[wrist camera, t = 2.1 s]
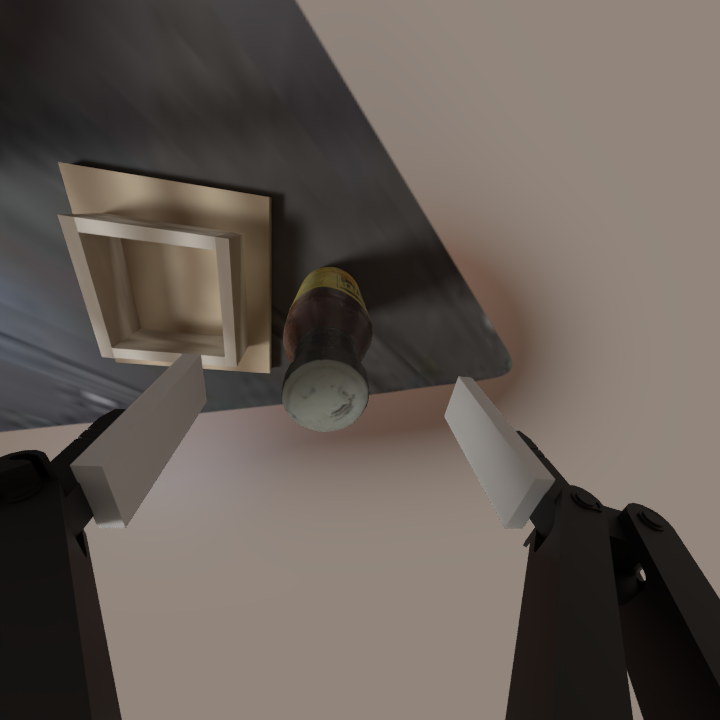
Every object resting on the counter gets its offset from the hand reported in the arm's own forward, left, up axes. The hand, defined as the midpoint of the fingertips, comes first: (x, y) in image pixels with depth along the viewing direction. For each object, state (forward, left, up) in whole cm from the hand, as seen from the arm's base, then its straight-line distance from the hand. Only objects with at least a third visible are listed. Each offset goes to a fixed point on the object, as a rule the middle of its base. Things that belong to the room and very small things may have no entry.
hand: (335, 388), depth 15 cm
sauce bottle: (0, 0, -18) cm, 18 cm away
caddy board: (-14, -1, -18) cm, 23 cm away
